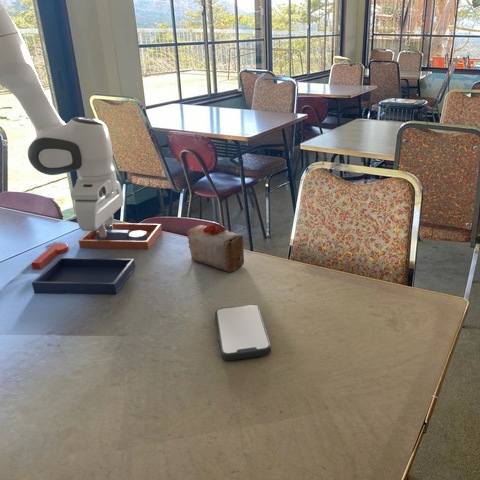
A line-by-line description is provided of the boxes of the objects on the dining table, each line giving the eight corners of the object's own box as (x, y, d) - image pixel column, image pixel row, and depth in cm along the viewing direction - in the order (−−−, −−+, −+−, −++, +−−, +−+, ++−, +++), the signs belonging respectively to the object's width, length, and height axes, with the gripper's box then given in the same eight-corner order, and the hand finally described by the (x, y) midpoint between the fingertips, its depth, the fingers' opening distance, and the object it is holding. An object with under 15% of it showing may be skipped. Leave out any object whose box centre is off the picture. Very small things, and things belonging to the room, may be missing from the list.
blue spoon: (95, 241, 125) (93, 234, 124) (102, 235, 129) (100, 227, 128) (144, 242, 125) (142, 235, 124) (149, 235, 129) (148, 228, 129)
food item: (184, 261, 117) (181, 223, 113) (207, 250, 123) (204, 214, 119) (227, 275, 111) (225, 236, 107) (249, 263, 117) (248, 225, 113)
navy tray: (34, 293, 101) (31, 282, 100) (61, 267, 113) (59, 257, 112) (116, 294, 102) (114, 284, 101) (135, 268, 113) (134, 258, 112)
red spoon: (47, 271, 110) (45, 263, 109) (27, 271, 110) (25, 262, 109) (72, 248, 122) (70, 240, 121) (54, 248, 122) (52, 240, 121)
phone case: (214, 315, 96) (221, 363, 82) (214, 308, 95) (221, 355, 81) (258, 310, 98) (272, 356, 84) (258, 303, 97) (272, 348, 83)
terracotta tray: (80, 249, 122) (78, 240, 121) (99, 231, 133) (98, 222, 132) (148, 250, 122) (147, 241, 121) (162, 232, 133) (161, 223, 132)
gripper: (102, 171, 130) (109, 219, 136) (67, 195, 112) (77, 249, 117) (125, 172, 131) (132, 219, 136) (94, 196, 112) (103, 249, 117)
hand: (106, 233), depth 126 cm, fingers closed
